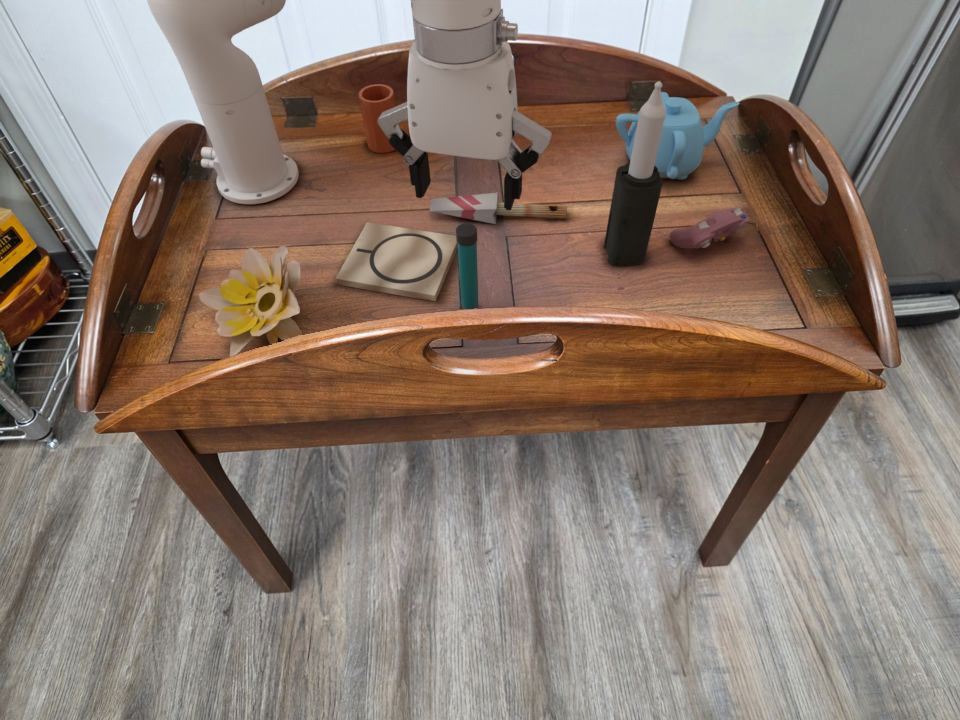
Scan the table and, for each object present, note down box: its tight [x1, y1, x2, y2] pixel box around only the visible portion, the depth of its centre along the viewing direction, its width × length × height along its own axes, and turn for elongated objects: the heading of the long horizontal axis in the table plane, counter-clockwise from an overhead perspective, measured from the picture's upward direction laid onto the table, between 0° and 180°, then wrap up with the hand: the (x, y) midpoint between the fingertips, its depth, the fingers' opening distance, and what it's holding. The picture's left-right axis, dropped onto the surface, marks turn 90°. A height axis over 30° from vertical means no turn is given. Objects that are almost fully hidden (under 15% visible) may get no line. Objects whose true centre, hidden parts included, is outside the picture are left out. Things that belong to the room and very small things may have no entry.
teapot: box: [615, 91, 740, 180], centre depth 99 cm, size 13×14×11 cm
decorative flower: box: [198, 245, 303, 358], centre depth 80 cm, size 15×11×10 cm
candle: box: [603, 80, 666, 267], centre depth 81 cm, size 5×5×25 cm
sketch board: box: [335, 221, 458, 302], centre depth 90 cm, size 14×12×1 cm
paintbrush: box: [429, 192, 568, 225], centre depth 95 cm, size 4×3×20 cm
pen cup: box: [358, 83, 396, 154], centre depth 105 cm, size 5×6×9 cm
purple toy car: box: [669, 207, 751, 250], centre depth 89 cm, size 10×5×7 cm, turn 118°
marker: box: [455, 222, 480, 310], centre depth 79 cm, size 2×2×14 cm
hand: (466, 196), depth 69 cm, fingers open, 9 cm apart
